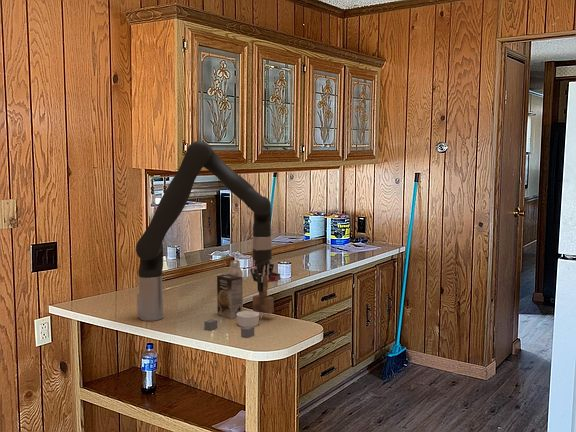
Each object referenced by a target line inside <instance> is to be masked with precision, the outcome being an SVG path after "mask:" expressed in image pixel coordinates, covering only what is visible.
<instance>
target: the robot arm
mask: <svg viewBox="0 0 576 432" xmlns="http://www.w3.org/2000/svg"><path fill="white" fill-rule="evenodd" d="M203 168H204V169H206V170H208V171H209V172H210V173H211V174H212V175H214V176H215V177H216V178H217V179H218V180H219V181H220V182H221V183H222V184H223V185H224V186H225V188H227V190H229V191H230V192H231V193H232V194H233V195H235V197H237V198H238V199H239V200H240V201H242V202H243V203H244V204H245V205H246V206H247V207H248V208H249V209H250V210H251V211H252V212H253V224H252V260H254V265H253V268H250V269H249V270H250V274H251V277H252V280H253V282H256V283H257V292H258V293H259V292H263V277H264V274H267V290H269V289H268V284H269V282H268V280H269V278H271V275H272V271H274V267H275V264H274V263H271V262H270V261H271V260H272V258H273V252H272V249H273V248H272V247H273V245H272V244H273V242H272V227H271V216H272V215H271V214H272V211H271V210H272V203H271V201H270V199H269V198H268V197H267V196H263V195H262V194H261V193H259V192H258V191H257V190H256V189H255V188H254V186H252V184H251V183H249V182H248V181H247V180H246V179H245V178H243V177H242V176H241V175H240V174H239V173H237V172H236V171H235V170H233V169H232V168H231V167H230V166H229V165H228V164H227V163H225V161H223V160H222V159H221V158H220V157H219V155H218V154H217V153H216V152H215V151H214V150H213V149H212V147H211V146H210V145H209V143H207V142H205V141H203V140H202V141H201V140H195V141H193V142H192V143H190V144H189V145H188V147H187V149H186V151H185V154H184V156H183V159H182V161H181V163H180V166H179V168H178V171H176V173H175V175H174V176H173V178H172V180H171V181H170V182H169V185H168V186H167V188H166V190H165V191H164V193H163V195H162V196H161V199H160V200H159V203H158V205H157V206H156V208H155V211H154V214H153V216H152V218H151V221H150V223H149V225H148V226H147V228H146V230H145V231H144V232H143V234H142V235H141V237H140V238H139V240H138V241H137V242H136V245H135V252H136V255H137V256H138V258H139V266H138V271H137V272H138V273H137V274H138V294H137V296H136V299H137V300H136V301H137V318H138V319H140V320H142V321H145V322H152V321H158V320H162V319H163V318H164V299H163V297H164V296H163V295H164V293H163V292H164V291H163V287H164V286H163V269H164V244H163V241H164V239H165V237H166V234H167V233H168V231H169V230H170V228H171V227H173V224H175V222H176V221H177V219H178V218H179V216H180V215H181V213H182V212H183V210H184V208H185V206H186V205H187V203H188V200H189V198H190V195H191V193H192V189H193V186H194V183H195V181H196V178H197V177H198V175H199V173H200V172H201V170H202V169H203ZM269 272H270V273H269ZM259 276H260V277H261V279H260V277H259Z"/></svg>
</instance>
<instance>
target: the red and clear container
mask: <svg viewBox="0 0 576 432" xmlns="http://www.w3.org/2000/svg"><path fill="white" fill-rule="evenodd" d="M269 273H270V272H269ZM278 280H280V281H281V273H280V272H277V271H275V270H273V271H272V275H271V278H269V280H268V283H270V282H271V283H272V282H273V283H274V281H275V282H279V281H278Z"/></svg>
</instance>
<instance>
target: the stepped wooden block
mask: <svg viewBox="0 0 576 432" xmlns="http://www.w3.org/2000/svg"><path fill="white" fill-rule="evenodd" d="M259 277H260V276H259ZM260 279H261V277H260ZM274 306H275V305H274V297H272V296H268V289H267V274H264V277H263V292H259V291H258V294H256V295H253V296H252V311H255V312H258V313H259V314H260V313H262V314H266V315H267V314H268V315H270V314H273V313H274V312H275V307H274Z"/></svg>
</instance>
